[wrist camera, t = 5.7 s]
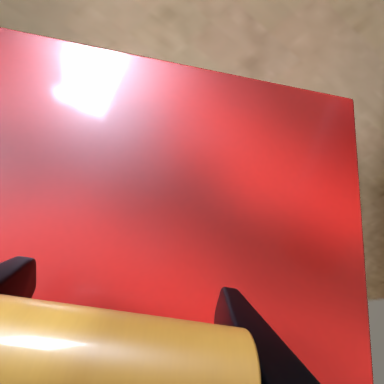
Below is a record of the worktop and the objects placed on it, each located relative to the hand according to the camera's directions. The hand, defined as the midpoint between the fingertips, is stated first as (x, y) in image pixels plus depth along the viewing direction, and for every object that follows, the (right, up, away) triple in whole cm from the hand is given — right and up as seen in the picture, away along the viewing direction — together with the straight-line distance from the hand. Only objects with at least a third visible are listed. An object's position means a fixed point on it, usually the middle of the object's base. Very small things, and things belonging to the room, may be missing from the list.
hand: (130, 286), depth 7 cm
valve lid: (0, +2, +3) cm, 3 cm away
